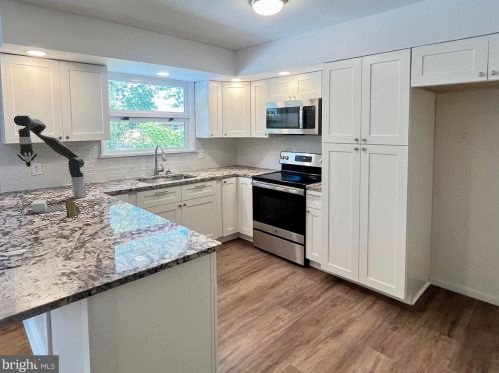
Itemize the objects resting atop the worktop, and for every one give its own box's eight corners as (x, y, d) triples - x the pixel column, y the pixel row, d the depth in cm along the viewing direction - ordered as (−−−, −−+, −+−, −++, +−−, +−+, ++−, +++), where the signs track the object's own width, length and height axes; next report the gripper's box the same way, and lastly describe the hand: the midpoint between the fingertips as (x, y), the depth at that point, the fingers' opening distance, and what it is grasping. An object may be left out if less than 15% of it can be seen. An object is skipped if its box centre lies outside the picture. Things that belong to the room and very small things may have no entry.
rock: (78, 208, 228) (62, 209, 221) (81, 199, 225) (65, 200, 217) (82, 220, 223) (66, 221, 216) (86, 211, 219) (70, 212, 212)
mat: (59, 206, 245) (59, 205, 245) (64, 209, 234) (64, 209, 234) (34, 210, 235) (34, 209, 235) (38, 214, 224) (38, 213, 224)
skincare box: (46, 199, 241) (45, 202, 228) (47, 207, 242) (46, 211, 229) (32, 200, 237) (30, 204, 224) (33, 208, 238) (31, 212, 225)
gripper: (15, 143, 238) (18, 167, 240) (37, 143, 246) (39, 166, 249) (14, 143, 243) (17, 167, 246) (35, 142, 252) (37, 165, 255)
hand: (28, 166), depth 248 cm, fingers closed
